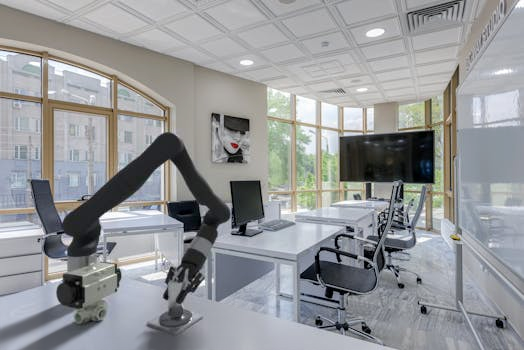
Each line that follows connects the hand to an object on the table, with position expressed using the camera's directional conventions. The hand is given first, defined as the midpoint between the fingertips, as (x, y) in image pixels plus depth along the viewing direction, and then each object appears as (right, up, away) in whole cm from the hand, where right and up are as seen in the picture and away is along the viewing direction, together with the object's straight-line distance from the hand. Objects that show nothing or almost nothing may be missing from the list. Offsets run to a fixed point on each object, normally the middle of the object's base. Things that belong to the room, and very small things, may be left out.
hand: (171, 300), depth 93 cm
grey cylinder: (+1, -5, +2) cm, 5 cm away
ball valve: (-26, -7, +3) cm, 27 cm away
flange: (+1, -7, +2) cm, 7 cm away
